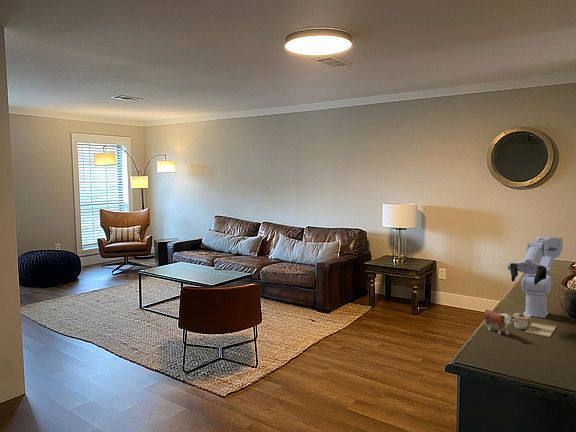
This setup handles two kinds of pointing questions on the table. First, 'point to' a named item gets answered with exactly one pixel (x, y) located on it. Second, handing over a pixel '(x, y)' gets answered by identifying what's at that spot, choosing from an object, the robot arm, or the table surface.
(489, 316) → the bull figurine
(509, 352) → the table surface
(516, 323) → the white round lump
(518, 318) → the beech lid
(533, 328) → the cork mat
